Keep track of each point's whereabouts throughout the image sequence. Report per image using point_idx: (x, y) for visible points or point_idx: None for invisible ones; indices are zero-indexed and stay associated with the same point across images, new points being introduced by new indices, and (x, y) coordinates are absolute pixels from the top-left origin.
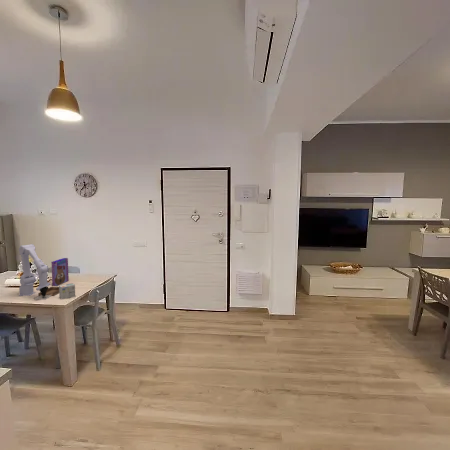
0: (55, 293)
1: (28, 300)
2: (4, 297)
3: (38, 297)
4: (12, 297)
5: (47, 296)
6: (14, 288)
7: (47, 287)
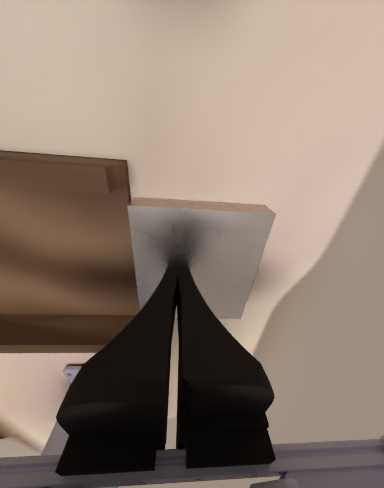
0: (58, 160)
1: (234, 331)
2: (169, 418)
3: (218, 300)
4: (168, 403)
5: (191, 228)
6: (43, 440)
7: (136, 399)
